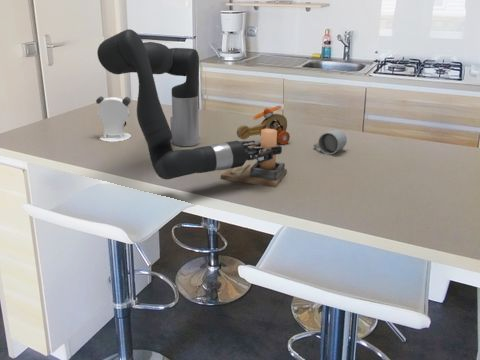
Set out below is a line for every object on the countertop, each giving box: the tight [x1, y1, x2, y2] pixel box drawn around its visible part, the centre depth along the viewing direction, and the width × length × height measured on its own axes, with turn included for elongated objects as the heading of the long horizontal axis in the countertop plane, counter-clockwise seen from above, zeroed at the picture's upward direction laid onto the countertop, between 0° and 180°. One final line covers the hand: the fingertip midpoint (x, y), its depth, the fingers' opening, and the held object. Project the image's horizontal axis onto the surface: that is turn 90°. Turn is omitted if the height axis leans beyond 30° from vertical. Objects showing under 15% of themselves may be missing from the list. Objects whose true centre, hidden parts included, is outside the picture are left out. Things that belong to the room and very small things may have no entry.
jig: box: [220, 161, 288, 188], centre depth 146 cm, size 17×12×4 cm
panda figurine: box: [95, 96, 132, 143], centre depth 178 cm, size 12×11×15 cm
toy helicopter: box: [236, 105, 291, 145], centre depth 172 cm, size 8×21×14 cm, turn 122°
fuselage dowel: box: [260, 129, 278, 171], centre depth 143 cm, size 5×5×12 cm
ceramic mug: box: [313, 129, 348, 156], centre depth 168 cm, size 11×8×8 cm
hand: (275, 147), depth 144 cm, fingers closed on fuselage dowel, 4 cm apart
